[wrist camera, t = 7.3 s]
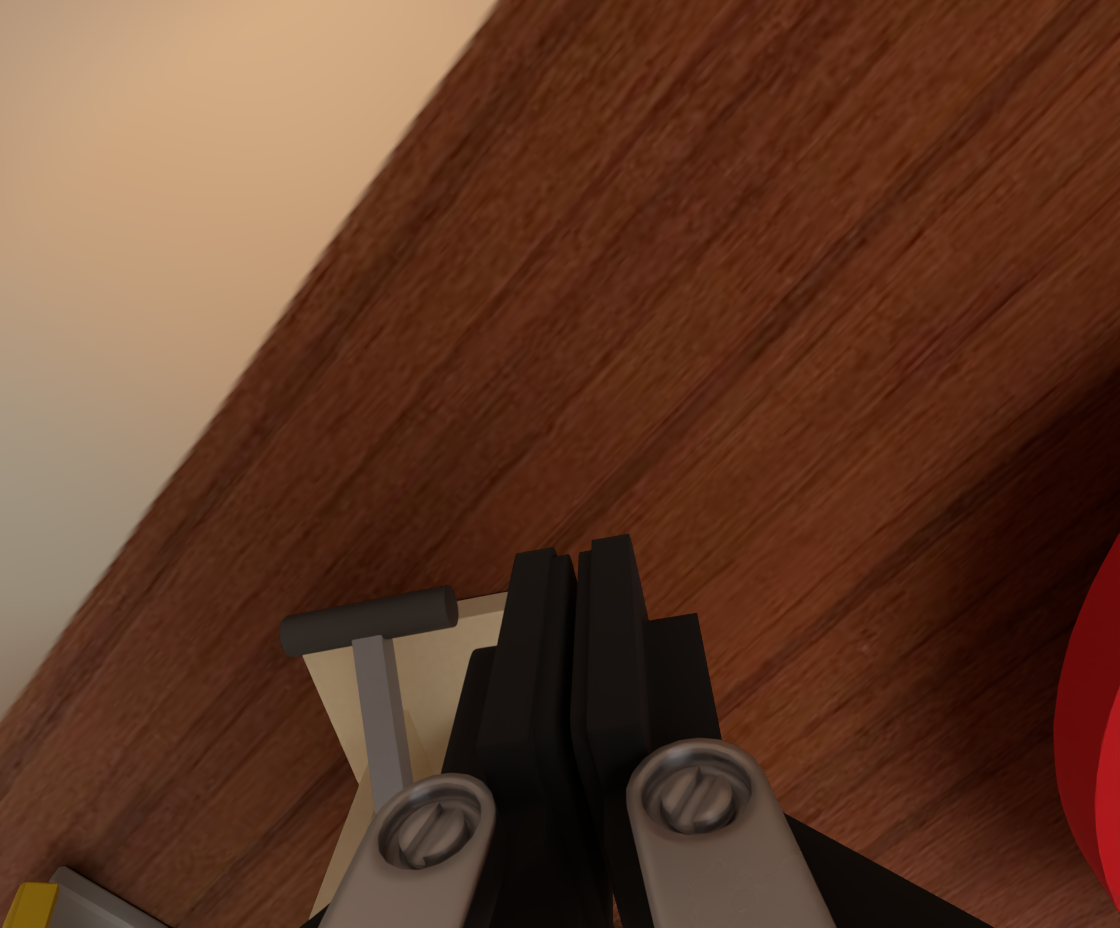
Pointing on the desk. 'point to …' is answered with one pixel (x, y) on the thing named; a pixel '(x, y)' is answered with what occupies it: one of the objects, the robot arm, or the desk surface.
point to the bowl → (1093, 727)
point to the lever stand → (428, 707)
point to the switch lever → (375, 667)
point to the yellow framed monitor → (72, 905)
